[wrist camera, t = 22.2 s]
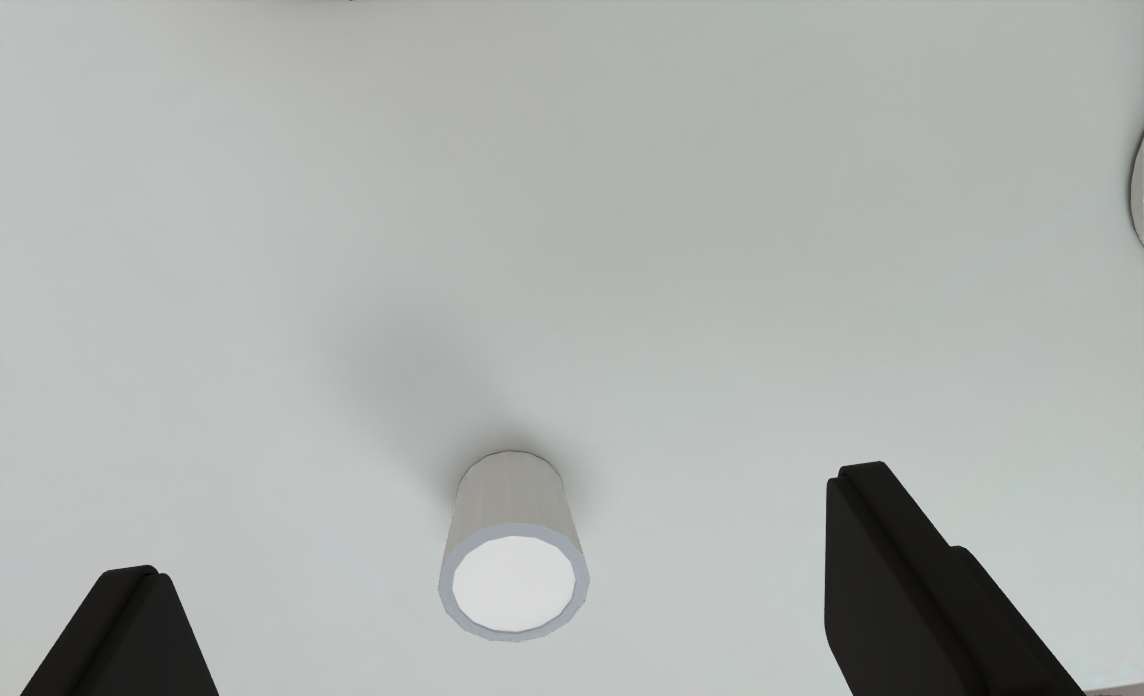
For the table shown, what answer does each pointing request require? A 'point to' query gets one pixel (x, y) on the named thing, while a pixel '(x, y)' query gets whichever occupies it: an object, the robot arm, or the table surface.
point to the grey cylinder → (512, 551)
